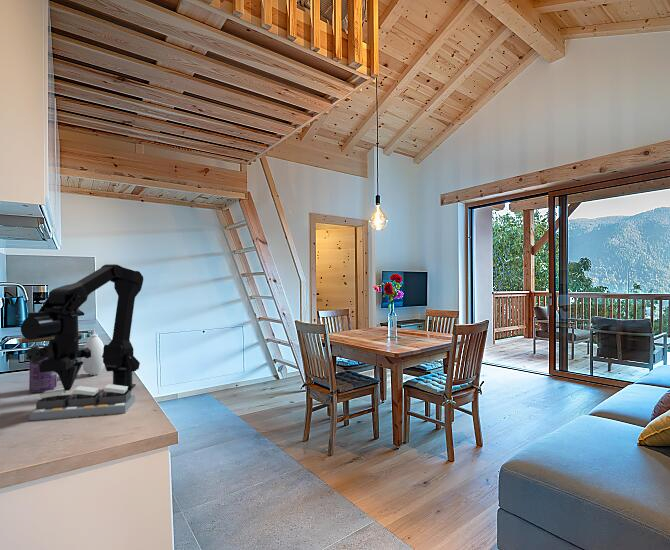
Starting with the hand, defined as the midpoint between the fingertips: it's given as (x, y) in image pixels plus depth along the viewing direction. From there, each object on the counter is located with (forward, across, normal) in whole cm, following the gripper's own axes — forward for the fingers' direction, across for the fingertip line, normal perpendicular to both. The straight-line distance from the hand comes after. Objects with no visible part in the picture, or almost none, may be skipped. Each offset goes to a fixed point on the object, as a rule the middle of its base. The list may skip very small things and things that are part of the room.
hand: (67, 390), depth 105 cm
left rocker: (+1, 0, -3) cm, 3 cm away
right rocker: (+1, 0, +12) cm, 12 cm away
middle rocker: (+1, 0, +4) cm, 5 cm away
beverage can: (+5, -25, -16) cm, 31 cm away
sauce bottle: (+6, -43, -7) cm, 44 cm away
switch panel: (+6, 0, +4) cm, 7 cm away
